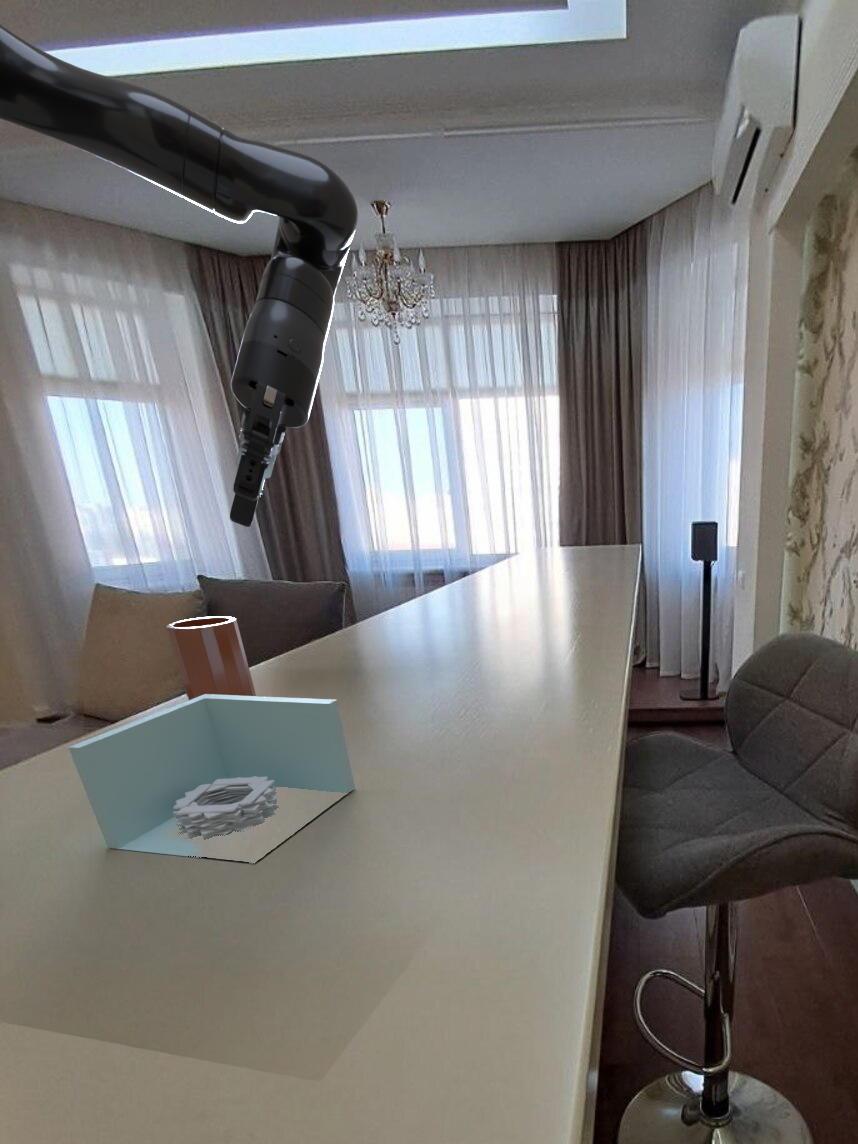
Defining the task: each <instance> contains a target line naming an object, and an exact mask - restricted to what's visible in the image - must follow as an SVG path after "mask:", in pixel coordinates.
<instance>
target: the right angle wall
mask: <svg viewBox="0 0 858 1144" xmlns="http://www.w3.org/2000/svg"><path fill="white" fill-rule="evenodd" d="M343 727H344V726H343V722H342V717H341V712H340V708H339V703H338V699H330V698H329V699H327V698H308V697H307V698H306V697H281V696H262V695H259V696H258V695H256V696H239V695H216V694H204V695H201V696H199V697H196V698H194V699H191V700H189V701H188V700H186V701H184V702H181V703H179V704H175V705H173V706H171V707H168V708H165V709H163V710H160V711H158V712H155V713H153V714H150V715H148V716H145V717H142V718H140V719H137V720H135V721H132V722H130V723H127V724H124V725H122V726H119V727H116V728H114V729H111V730H109V731H106V732H103V733H100V734H98V735H96V736H93V737H90V738H88V739H86V740H83V741H80V742H78V743H75V744H73V745H70V746H68V747H67V748H68V751H69V753H70V755H71V757H72V760H73V763H74V765H75V768H76V771H77V773H78V776H79V778H80V780H81V783H82V786H83V788H84V791H85V794H86V796H87V798H88V801H89V803H90V807H91V809H92V811H93V813H94V815H95V819H96V822H97V824H98V826H99V829H100V832H101V834H102V836H103V839H104V841H105V844H106V846H107V848H108V849H115V850H124V851H132V852H133V851H134V852H143V853H150V854H151V853H152V854H161V855H171V856H179V857H188V856H189V855H190V854H191V853H192V852H193V853H194V852H195V853H194V854H193V853H192V854H191V855H190V856H191V857H190V856H189V858H199V857H200V856H201V855H200V856H199V854H200V853H201V852H202V851H201V850H202V849H201V848H202V847H203V846H202V845H201V844H200V845H201V846H202V847H201V846H200V845H199V844H198V845H199V846H200V847H201V848H200V847H199V846H198V845H197V844H195V843H196V842H195V843H194V842H193V843H194V844H195V845H194V844H193V843H192V842H191V841H190V842H191V843H192V844H191V843H190V842H189V841H187V839H188V838H189V839H190V838H191V839H192V838H193V837H197V836H201V835H202V836H203V839H204V840H206V839H209V838H212V837H213V836H214V837H215V836H219V835H220V836H221V835H222V836H223V835H224V834H225V835H229V834H231V833H232V832H233V831H235V832H236V831H237V832H239V831H240V832H241V831H243V832H244V831H246V830H248V829H249V828H251V827H252V826H253V827H254V826H256V825H259V824H262V823H264V822H265V821H264V820H265V819H264V818H268V817H272V816H274V815H276V814H275V813H274V810H276V809H277V808H279V806H277V805H274V804H276V803H277V798H276V797H275V795H276V793H277V792H275V791H276V787H288V788H297V789H298V788H299V789H308V790H318V791H327V792H328V791H329V792H341V793H344V792H345V793H348V792H350V791H351V790H352V789H354V788H355V789H356V784H355V781H354V776H353V770H352V766H351V761H350V756H349V752H348V751H349V750H348V747H347V741H346V736H345V732H344V728H343ZM178 819H179V820H178ZM176 820H177V821H176ZM173 822H174V824H173ZM175 822H176V823H175ZM170 825H171V826H170ZM172 825H173V826H172ZM174 825H175V826H176V827H175V826H174ZM177 826H178V828H179V826H180V827H181V826H182V827H181V828H179V830H180V831H181V830H182V831H181V832H179V833H180V834H181V833H182V834H183V833H187V836H188V838H187V837H186V838H187V839H186V838H185V837H183V838H184V839H183V838H182V837H181V836H180V834H179V833H178V832H177V831H176V832H177V833H178V834H179V836H180V837H181V838H182V839H183V840H184V841H185V840H186V841H187V842H186V841H185V842H184V841H183V840H182V839H181V838H180V837H179V836H178V835H177V834H176V835H177V836H178V837H179V838H180V839H181V840H182V841H183V842H182V841H181V840H180V839H179V838H177V839H178V840H177V839H176V837H177V836H176V837H174V836H173V837H174V838H175V839H176V840H177V841H176V840H175V839H174V838H173V837H172V836H171V834H172V832H173V830H174V828H175V830H176V828H177ZM169 827H170V828H169ZM171 827H172V828H171ZM173 827H174V828H173ZM163 828H164V829H163ZM168 829H169V831H170V832H169V831H168ZM170 829H171V830H170ZM172 829H173V830H172ZM162 830H163V831H162ZM164 830H165V831H164ZM166 830H167V831H168V832H167V831H166ZM175 830H174V832H175ZM177 830H178V829H177ZM158 831H159V832H158ZM171 831H172V832H171ZM161 832H162V833H161ZM165 832H166V833H167V834H166V833H165ZM164 833H165V835H166V836H167V837H168V836H169V834H170V833H171V834H170V836H171V837H172V838H173V839H174V840H175V841H176V842H175V841H174V840H173V839H172V838H171V837H170V836H169V837H170V838H171V839H170V838H169V837H168V838H167V837H166V836H165V835H164ZM168 833H169V834H168ZM158 834H159V835H158ZM160 834H161V835H162V834H163V835H164V836H165V837H164V836H161V835H160ZM173 834H174V833H173ZM173 834H172V835H173ZM182 834H181V835H182ZM154 835H155V836H154ZM174 835H175V834H174ZM183 835H184V834H183ZM225 835H224V836H225ZM159 836H160V837H161V838H160V837H159ZM158 837H159V838H158ZM165 838H166V839H165ZM164 839H165V840H164ZM192 846H193V847H194V846H195V847H196V846H198V847H199V848H200V849H201V850H200V849H199V848H198V849H199V850H200V851H201V852H200V851H199V850H198V849H197V847H196V848H195V847H194V848H195V849H194V848H193V847H192ZM197 850H198V851H199V852H200V853H199V852H198V851H197ZM191 851H192V852H191ZM196 851H197V852H198V853H199V854H198V853H197V854H198V855H197V854H196ZM195 854H196V855H197V856H196V855H195ZM194 855H195V856H196V857H195V856H194ZM193 856H194V857H193ZM198 856H199V857H198ZM202 856H203V855H202ZM202 856H201V857H202ZM201 857H200V858H199V859H202V858H201ZM251 860H252V859H251ZM253 861H254V860H253ZM253 861H252V863H250V862H249V863H248V864H253ZM255 862H256V861H255ZM255 862H254V864H255Z"/></svg>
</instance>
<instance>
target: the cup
mask: <svg viewBox="0 0 858 1144" xmlns="http://www.w3.org/2000/svg"><path fill="white" fill-rule="evenodd" d="M165 629H166V631H167V634H168V638H169V641H170V644H171V648H172V651H173V654H174V657H175V661H176V664H177V667H178V671H179V674H180V677H181V680H182V684H183V687H184V690H185V694H186V697H187V701H189V700H191V699H194V698H196V697H199V696H201V695H204V694H216V695H239V696H257V694H256V690H255V686H254V682H253V679H252V675H251V671H250V667H249V664H248V663H249V662H248V660H247V655H246V651H245V647H244V644H243V640H242V635H241V632H240V627H239V625H238V620H237V618H235V617H234V616H233V617H232V616H204V617H196V618H189V619H184V620H183V619H182V620H178V621H174V622H171V623H169V624H166V626H165Z"/></svg>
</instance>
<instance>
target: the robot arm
mask: <svg viewBox="0 0 858 1144" xmlns="http://www.w3.org/2000/svg"><path fill="white" fill-rule="evenodd" d="M0 120H2V121H4V122H7V123H10V124H14V125H17V126H19V127H23V128H24V129H28V130H31V131H33V132H36V133H39V134H41V135H43V136H46V137H48V138H51V139H53V140H57V141H59V142H61V143H64V144H66V145H69V146H71V147H74V148H77V149H79V150H81V151H84V152H86V153H88V154H91V155H93V156H96V157H97V158H100V159H102V160H103V161H106V162H108V163H111V164H113V165H114V166H118V167H120V168H122V169H124V170H126V171H128V172H131V173H133V174H134V175H137V176H139V177H141V178H143V179H145V180H147V181H149V182H151V183H153V184H154V185H157V186H159V187H161V188H163V189H165V190H167V191H169V192H171V193H173V194H175V195H177V196H179V197H180V198H184V199H185V200H187V201H188V202H191V203H192V204H195V205H196V206H199V207H201V208H202V209H205V210H207V211H209V212H211V213H214V214H215V215H217V216H218V217H221V218H224V219H225V220H228V221H230V222H233V223H236V224H245V223H246V222H247V221H248V220H249V219H250V218H251V217H252V215H253V213H255V212H261V213H264V214H265V213H266V214H269V215H273V216H276V217H279V218H278V223H277V227H276V232H275V238H274V243H273V248H272V252H271V257H270V260H269V261H268V262H267V264H266V267H265V269H264V270H263V273H262V276H261V280H260V283H259V288H258V290H257V295H256V299H255V302H254V306H253V309H252V312H251V313H250V315H249V317H248V319H247V322H246V324H245V328H244V332H243V336H242V340H241V344H240V347H239V349H238V350H239V351H238V354H237V359H236V362H235V364H234V365H235V366H234V369H233V373H232V377H231V381H230V389H231V390H230V391H231V392H232V394H233V396H234V398H235V399H236V400H237V401H238V402H239V403H240V405H241V406H243V407H244V410H243V413H242V417H241V422H240V425H241V427H240V431H239V432H240V433H239V441H240V444H239V447H238V448H239V449H238V451H237V457H236V465H237V466H238V467H237V470H236V475H235V479H234V482H233V486H232V491H233V493H234V497H233V500H232V504H231V508H230V511H229V520H230V521H231V522H232V523H235V524H237V525H240V526H243V527H245V528H249V527H251V526H252V525H253V521H254V518H255V514H256V510H257V506H258V502H259V498H261V495H264V489H263V488H264V485H265V481H266V479H270V478H271V476H272V473H273V469H274V466H275V462H276V458H277V455H279V454H280V453H281V450H282V445H283V441H284V437H285V433H286V431H287V428H289V429H297V428H298V429H299V428H301V427H304V426H305V425H306V424H307V423H308V421H309V418H310V415H311V412H312V411H311V410H312V407H313V403H314V399H315V395H316V391H317V388H318V384H319V380H320V375H321V372H322V368H323V364H324V353H325V346H326V342H327V338H328V334H329V330H330V326H331V323H332V318H333V314H334V305H335V295H336V291H337V289H338V285H339V282H340V280H341V275H342V273H343V270H344V266H345V263H346V260H347V257H348V253H349V250H350V248H351V245H352V241H353V238H354V235H355V232H356V229H357V226H358V218H359V210H358V205H357V202H356V198H355V197H354V194H353V193H352V191H351V189H350V187H349V186H348V184H347V183H346V182H345V180H343V178H342V177H341V176H340V175H339V174H338V173H336V171H334V170H333V169H332V168H330V167H329V166H328V165H327V164H325V163H323V162H322V161H320V160H318V159H317V158H314V157H312V156H310V155H307V154H305V153H302V152H300V151H299V152H298V151H295V150H291V149H288V148H284V147H281V146H277V145H274V144H271V143H267V142H264V141H259V140H254V139H250V138H245V137H241V136H239V135H237V134H235V133H234V132H232V131H230V130H229V129H228V128H225V127H223V125H220V124H218V123H217V122H215V121H213V120H211V119H210V118H207V117H206V116H204V115H203V114H200V112H198V111H197V112H196V111H195V110H192V109H191V108H190V107H188V106H186V105H184V104H182V103H180V102H178V101H176V100H175V99H173V98H170V97H168V96H166V95H164V94H162V93H160V92H158V91H155V90H152V89H150V88H147V87H145V86H143V85H138V84H135V83H133V82H129V81H126V80H122V79H118V78H114V77H110V76H107V75H104V74H101V73H97V72H94V71H91V70H89V69H88V70H87V69H84V68H81V67H80V66H76V65H74V64H72V63H70V62H67V61H64V60H62V59H60V58H59V57H56V56H53V55H52V54H50V53H48V52H46V51H44V50H43V49H40V48H38V47H36V46H35V45H33V44H31V43H29V42H28V41H26V40H24V39H23V38H21V37H20V36H18V35H17V34H15V33H14V32H13V31H11V30H10V29H8V28H6V27H5V26H4V25H2V23H1V24H0Z"/></svg>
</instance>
